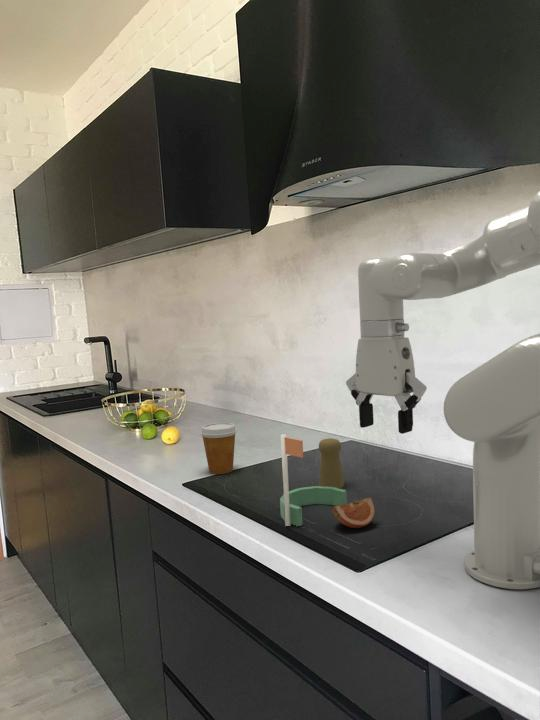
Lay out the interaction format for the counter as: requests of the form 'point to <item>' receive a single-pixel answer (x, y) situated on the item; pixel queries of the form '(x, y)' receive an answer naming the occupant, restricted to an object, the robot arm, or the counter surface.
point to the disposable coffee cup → (219, 446)
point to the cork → (330, 464)
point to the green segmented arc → (305, 495)
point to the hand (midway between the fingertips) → (385, 428)
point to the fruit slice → (355, 513)
